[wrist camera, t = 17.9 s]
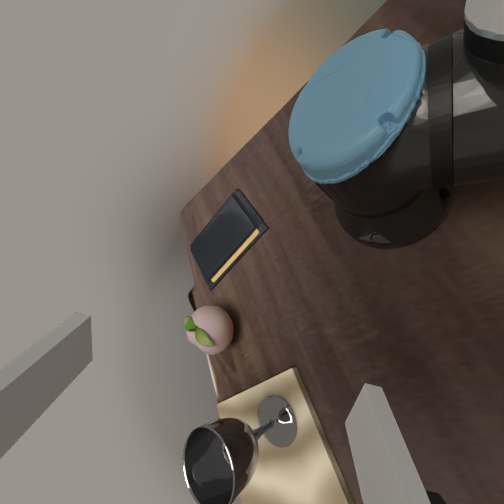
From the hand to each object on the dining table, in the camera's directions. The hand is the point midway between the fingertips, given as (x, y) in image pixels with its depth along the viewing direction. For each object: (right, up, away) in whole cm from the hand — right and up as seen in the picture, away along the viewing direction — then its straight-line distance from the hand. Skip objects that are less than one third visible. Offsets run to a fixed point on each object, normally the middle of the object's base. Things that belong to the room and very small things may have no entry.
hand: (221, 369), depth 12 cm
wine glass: (+5, -21, +28) cm, 35 cm away
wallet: (-4, +8, +47) cm, 48 cm away
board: (+5, -25, +29) cm, 39 cm away
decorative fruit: (-3, -10, +40) cm, 41 cm away
